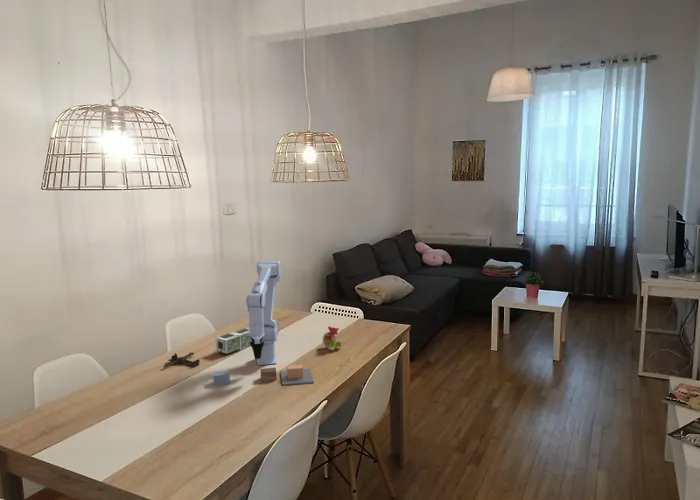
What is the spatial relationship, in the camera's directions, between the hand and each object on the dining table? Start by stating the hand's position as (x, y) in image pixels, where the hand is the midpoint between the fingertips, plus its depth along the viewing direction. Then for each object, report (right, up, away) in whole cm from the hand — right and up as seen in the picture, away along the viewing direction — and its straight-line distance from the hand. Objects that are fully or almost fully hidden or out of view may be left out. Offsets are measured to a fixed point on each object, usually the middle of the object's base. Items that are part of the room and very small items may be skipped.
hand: (257, 355), depth 210 cm
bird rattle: (+28, -4, +31) cm, 43 cm away
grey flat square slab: (+16, -9, -1) cm, 18 cm away
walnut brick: (+5, -9, -3) cm, 11 cm away
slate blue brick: (-13, -10, -6) cm, 17 cm away
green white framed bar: (-11, -2, +39) cm, 40 cm away
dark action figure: (-34, -7, +14) cm, 37 cm away
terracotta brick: (+15, -8, -2) cm, 18 cm away
